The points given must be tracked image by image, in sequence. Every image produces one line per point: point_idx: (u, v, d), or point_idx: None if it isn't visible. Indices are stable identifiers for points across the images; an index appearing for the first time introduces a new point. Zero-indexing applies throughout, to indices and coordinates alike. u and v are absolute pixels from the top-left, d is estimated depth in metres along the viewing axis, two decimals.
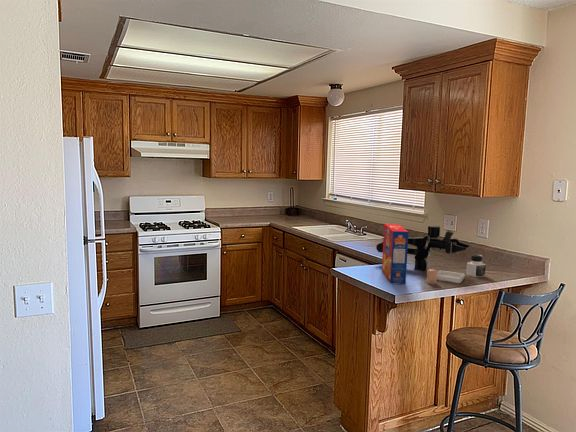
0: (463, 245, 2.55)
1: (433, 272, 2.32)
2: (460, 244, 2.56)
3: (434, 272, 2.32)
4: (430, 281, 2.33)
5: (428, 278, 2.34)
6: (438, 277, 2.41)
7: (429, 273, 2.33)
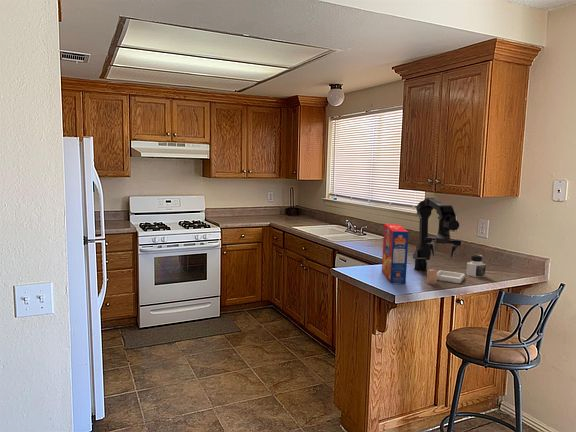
0: None
1: (433, 272, 2.32)
2: (452, 249, 2.35)
3: (434, 272, 2.32)
4: (430, 281, 2.33)
5: (428, 278, 2.34)
6: (438, 277, 2.41)
7: (429, 273, 2.33)
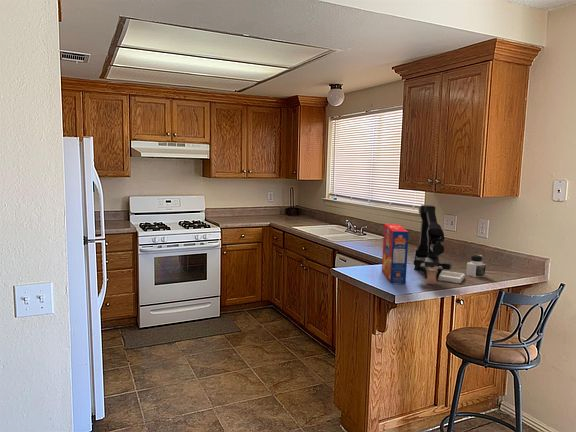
0: None
1: (433, 272, 2.32)
2: None
3: (434, 272, 2.32)
4: (430, 281, 2.33)
5: (428, 278, 2.34)
6: None
7: (429, 273, 2.33)
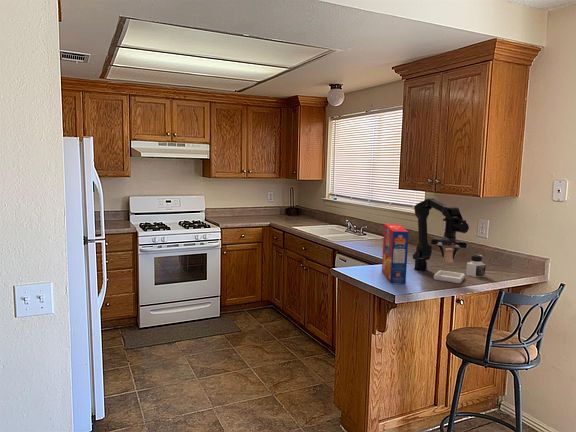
0: None
1: (450, 251, 2.39)
2: None
3: (451, 251, 2.39)
4: (446, 260, 2.40)
5: (445, 256, 2.41)
6: (438, 277, 2.41)
7: (446, 252, 2.40)
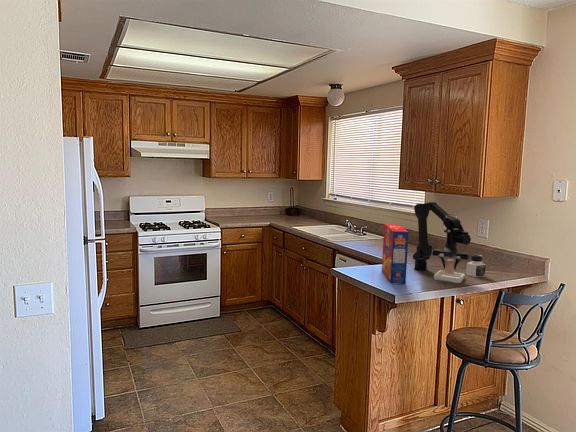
0: (455, 264, 2.42)
1: (451, 262, 2.41)
2: (455, 262, 2.42)
3: (452, 262, 2.41)
4: (448, 271, 2.42)
5: (446, 268, 2.43)
6: (438, 277, 2.41)
7: (447, 263, 2.42)
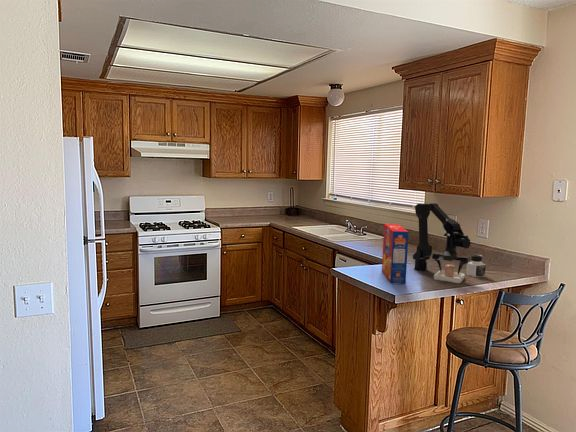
0: (458, 269, 2.42)
1: (451, 267, 2.41)
2: (459, 266, 2.41)
3: (452, 267, 2.41)
4: (448, 276, 2.42)
5: (446, 273, 2.43)
6: (438, 277, 2.41)
7: (447, 268, 2.42)
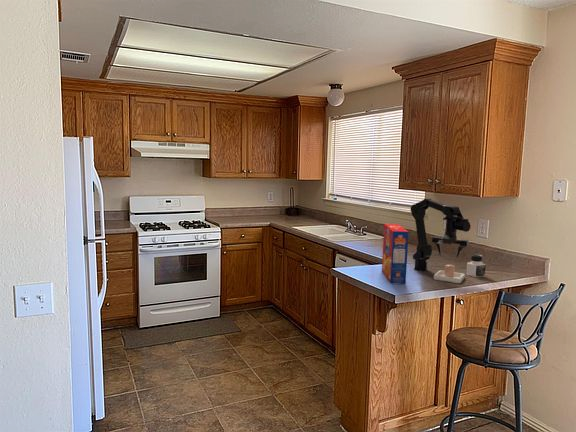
0: None
1: (451, 267, 2.41)
2: (458, 249, 2.43)
3: (452, 267, 2.41)
4: (448, 276, 2.42)
5: (446, 273, 2.43)
6: (438, 277, 2.41)
7: (447, 268, 2.42)
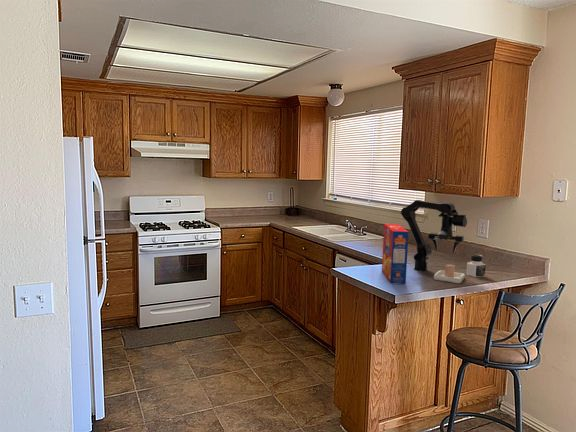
0: None
1: (451, 267, 2.41)
2: (454, 245, 2.50)
3: (452, 267, 2.41)
4: (448, 276, 2.42)
5: (446, 273, 2.43)
6: (438, 277, 2.41)
7: (447, 268, 2.42)
